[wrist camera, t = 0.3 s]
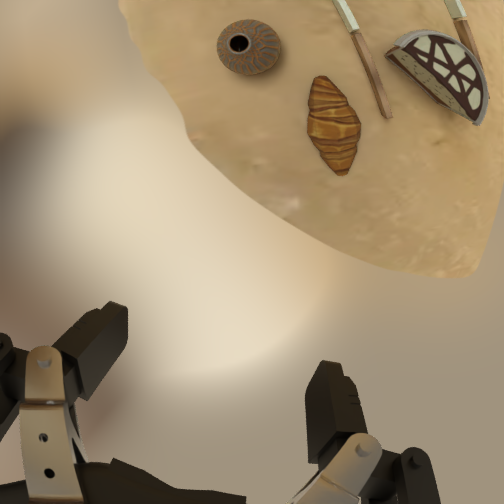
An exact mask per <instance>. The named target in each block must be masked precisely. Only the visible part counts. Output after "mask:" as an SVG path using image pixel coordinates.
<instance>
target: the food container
mask: <svg viewBox="0 0 504 504" xmlns="http://www.w3.org/2000/svg"><path fill="white" fill-rule="evenodd" d="M393 45H395V46H396V47H394V48H392V49H390V50H389V51H388V52H387V53H386V54H385V55H384V56H385V57H386V58H387V59H388V60H390V61H391V62H392V63H393V64H395V65H396V66H397V67H398V68H399V69H401V70H402V71H403V72H404V73H405V74H407V75H408V76H409V77H410V78H411V79H412V80H413V81H414V82H415V83H417V84H418V85H419V86H420V87H421V88H422V89H423V90H424V91H425V92H426V93H427V94H428V95H429V96H430V97H431V98H432V99H433V100H434V101H435V102H436V103H437V104H440V105H442V106H444V107H446V108H448V109H450V110H452V111H454V112H455V113H457V114H459V115H461V116H463V117H465V118H466V119H468V120H470V121H472V122H473V123H472V124H473V125H476V126H478V125H479V126H480V125H481V123H482V121H483V119H484V117H485V115H486V111H487V107H488V99H489V98H488V86H487V81H486V78H485V75H484V72H483V70H482V68H481V66H480V64H479V62H478V61H477V59H476V58H475V56H474V55H473V54H472V53H471V52H470V51H469V50H468V49H467V48H466V47H465V46H464V45H463V44H462V43H460V42H459V41H458V40H456V39H454V38H453V37H451V36H449V35H446V34H444V33H441V32H437V31H432V30H416V31H411V32H409V33H407V34H404V35H403V36H401V37H400V38H399V39H397V40H396V42H395V43H394V44H393Z"/></svg>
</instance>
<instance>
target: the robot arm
mask: <svg viewBox="0 0 504 504" xmlns="http://www.w3.org/2000/svg"><path fill="white" fill-rule="evenodd" d="M127 340H128V309H127V307H126V306H123V305H120V304H118V303H115V302H112V301H109V302H108V303H107V304H106V305H105V306H104V307H103V308H102V309H101V310H100V309H97V308H96V309H94V310H91V311H89V312H86V313H85V314H84V315H83V316H82V317H81V318H80V319H79V321H77V322H76V323H75V324H74V325H73V327H70V328H69V329H68V330H67V331H66V333H64V334H63V335H62V336H61V337H60V338H59V339H58V340H57V341H56V342H55V343H54V344H53V345H52V346H45V345H44V346H38V347H35V348H34V349H32V350H31V351H26V350H22V349H19V348H16V347H13V344H12V341H11V338H10V337H9V336H8V335H6V334H4V333H0V442H1V440H2V438H3V437H4V435H5V434H6V432H7V431H8V429H9V428H10V426H11V425H12V423H13V422H14V420H15V419H16V417H17V416H18V414H19V418H20V419H19V420H20V437H21V449H22V457H23V465H24V472H25V478H26V479H25V480H22V481H17V482H12V483H8V484H3V485H0V504H246V496H240V495H234V494H228V493H223V492H218V491H213V490H187V489H177V488H174V487H172V486H170V485H168V484H166V483H164V482H162V481H161V480H159V479H158V478H156V477H154V476H152V475H151V474H149V473H148V472H146V471H144V470H142V469H139V468H137V467H134V466H132V465H129V464H127V463H124V462H122V461H120V460H117V459H115V458H113V459H112V461H111V463H110V464H108V463H101V462H89V461H88V457H87V455H86V452H85V449H84V446H83V442H82V438H81V434H80V429H79V424H78V418H77V413H76V407H75V403H74V402H75V401H76V399H77V398H78V397H80V398H82V399H84V400H86V401H88V400H89V398H90V397H91V395H92V394H93V392H94V391H95V390H96V388H97V387H98V385H99V384H100V382H101V381H102V379H103V378H104V376H105V375H106V374H107V372H108V371H109V369H110V368H111V367H112V365H113V364H114V362H115V361H116V360H117V358H118V357H119V355H120V354H121V353H122V351H123V350H124V348H125V346H126V344H127ZM305 409H306V425H307V444H308V463H312V464H318V467H319V470H318V471H317V472H316V473H315V474H314V475H313V476H312V477H311V478H310V479H309V481H308V482H307V483H306V484H305V485H304V486H303V487H302V488H301V489H300V490H299V491H298V492H297V493H296V494H295V495H294V496H293V497H292V498H291V499H290V500H289V501H288V502H287V503H286V504H358V502H359V498H358V497H357V496H359V497H361V504H441V502H440V497H439V493H438V489H437V484H436V480H435V476H434V473H433V469H432V465H431V461H430V459H429V456H428V455H427V454H426V453H425V452H424V451H423V450H422V449H419V448H416V447H410V448H408V449H406V450H405V451H404V452H403V453H401V454H398V453H394V452H391V451H387V450H384V449H382V447H381V445H380V443H379V442H378V440H377V439H376V438H374V437H373V436H371V435H369V434H368V432H367V427H366V423H365V419H364V415H363V411H362V407H361V406H360V400H359V398H358V392H357V388H356V385H355V384H354V383H353V381H352V380H351V379H350V377H347V376H344V374H343V370H342V366H341V364H340V363H337V362H330V361H325V360H322V361H321V362H320V364H319V366H318V367H317V370H316V371H315V374H314V375H313V377H312V379H311V381H310V382H309V385H308V387H307V389H306V393H305ZM397 498H398V500H397Z"/></svg>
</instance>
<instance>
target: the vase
mask: <svg viewBox="0 0 504 504" xmlns="http://www.w3.org/2000/svg"><path fill="white" fill-rule="evenodd" d="M280 49H281V45H280V40H279V38H278V35H277V34H276V32H275V31H274V30H273V29H272V28H271V27H270V26H268V25H267V24H265V23H263V22H260V21H257V20H241V21H237V22H234V23H232V24H231V25H229V26H228V27H226V28H225V29H224V30H223V31H222V33H221V34H220V36H219V38H218V41H217V53H218V56H219V58H220V60H221V61H222V63H223V64H224V65H225V66H226V67H227V68H229V69H230V70H232V71H234V72H236V73H240V74H247V75H251V74H258V73H261V72H263V71H266V70H267V69H269V68H270V67H271V66H273V65H274V63H275V62H276V61H277V59H278V57H279V54H280Z"/></svg>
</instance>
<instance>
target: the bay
mask: <svg viewBox="0 0 504 504" xmlns="http://www.w3.org/2000/svg"><path fill="white" fill-rule="evenodd" d="M332 1H333V3H334V5H335V6H336V8H337V10H338V12H339V14H340V16H341V18H342V19H343V21H344V23H345V25H346V27H347V29H348V31H349V33H351V32H355V31H357V30H358V29H360V28H359V26H358V24H357V22H356V20H355V18H354V16H353V14H352V12H351V10H350V9H349V7H348V5H347V3H346V1H345V0H332ZM444 1H445V4H446V6H447V8H448V10H449V12H450V15H451V17H452V18H461V17H467V15H466V13H465V11H464V8H463V6H462V4H461V2H460V0H444Z"/></svg>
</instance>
